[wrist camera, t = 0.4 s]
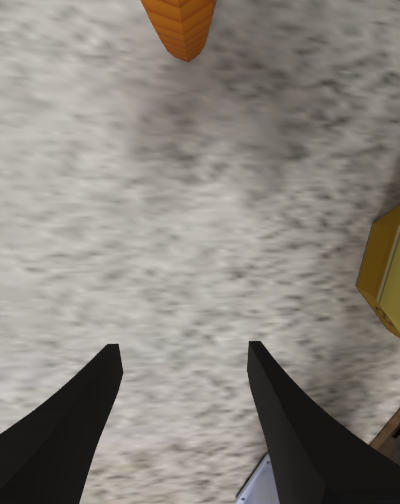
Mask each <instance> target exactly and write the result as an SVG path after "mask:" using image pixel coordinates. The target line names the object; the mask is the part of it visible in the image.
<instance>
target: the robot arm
mask: <svg viewBox="0 0 400 504" xmlns="http://www.w3.org/2000/svg"><path fill="white" fill-rule="evenodd" d="M247 372H248V378H249V383H250V388H251V392H252V396H253V399H254V402H255V406H256V409H257V412H258V416H259V419H260V422H261V426H262V429H263V432H264V436H265V439H266V443H267V447H268V451H269V453H268V454H267V455H266V456H265V458H264V459H263V460H262V462H261V463H260V465H259V466H258V468H257V469H256V471H255V472H254V474H253V475H252V476H251V478H250V479H249V481H248V482H247V484H246V485H245V487H244V488H243V490H242V491H241V492H240V494H239V495H238V497H237V498H236V500H235V502H236V504H400V465H398V464H397V463H395V462H394V461H392V460H391V459H389V458H388V457H386V456H384V455H383V454H381V453H380V452H378V451H377V450H375V449H374V448H372V447H371V446H369V445H368V444H367V443H365V442H364V441H362V440H361V439H360V438H358V437H357V436H356V435H354V434H353V433H351V432H350V431H349V430H348V429H346V428H345V427H344V426H342V425H341V424H340V423H339V422H338V421H336V420H335V419H334V418H333V417H331V416H330V415H329V414H328V413H326V412H325V411H324V410H323V409H322V408H321V407H320V406H318V405H317V404H316V403H315V402H314V401H313V400H312V399H311V398H310V397H309V396H308V395H307V394H306V393H305V392H304V391H303V390H302V389H301V388H300V387H299V386H298V385H297V384H296V383H295V382H294V381H293V380H292V379H291V378H290V377H289V376H288V374H287V373H286V372H285V371H284V370H283V369H282V368H281V366H280V365H279V364H278V363H277V362H276V360H275V359H274V358H273V357H272V355H271V354H270V353H269V352H268V350H267V349H266V348H265V346H264V345H263V344H262V342H261V341H249V348H248V363H247ZM122 376H123V368H122V362H121V356H120V350H119V344H107V345H106V346H105V347H104V348H103V349H102V350H101V351H100V352H99V353H98V354H97V355H96V356H95V357H94V358H93V359H92V360H91V361H90V362H89V363H88V364H87V365H86V366H85V367H84V368H83V369H81V370H80V371H79V372H78V373H77V374H76V375H75V376H74V377H73V378H72V379H71V380H70V381H69V382H67V383H66V384H65V385H64V386H63V387H62V388H61V389H60V390H58V391H57V392H56V393H55V394H54V395H53V396H51V397H50V398H49V399H48V400H46V401H45V402H44V403H43V404H41V405H40V406H39V407H37V408H36V409H35V410H34V411H32V412H31V413H30V414H28V415H27V416H25V417H24V418H23V419H21V420H20V421H18V422H17V423H15V424H14V425H13V426H11V427H10V428H8V429H7V430H6V431H4V432H3V433H1V434H0V504H79V502H80V499H81V495H82V492H83V489H84V485H85V482H86V478H87V475H88V472H89V469H90V465H91V462H92V459H93V456H94V453H95V450H96V447H97V444H98V441H99V439H100V436H101V434H102V431H103V429H104V426H105V424H106V421H107V419H108V416H109V414H110V411H111V409H112V406H113V404H114V401H115V399H116V396H117V394H118V390H119V387H120V383H121V380H122Z"/></svg>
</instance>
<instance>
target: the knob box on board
mask: <svg viewBox="0 0 400 504" xmlns="http://www.w3.org/2000/svg"><path fill="white" fill-rule="evenodd" d="M369 446H371V447H372V448H374V449H375V450H377V451H378V452H380V453H381V454H383V455H384V456H386V457H388V458H389V459H391V460H392V461H394V462H395V463H397V464H398V465H400V409H399V410H398V412H397V413H396V414H395V415H394V416H393V418H392V419H391V420H390V421H389V422H388V424H387V425H386V426H385V427H384V429H383V430H382V431H381V432H380V433H379V435H378V436H377V437H376V438H375V439H374V441H373V442H372V443H371V444H370V445H369Z"/></svg>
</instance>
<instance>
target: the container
mask: <svg viewBox="0 0 400 504" xmlns="http://www.w3.org/2000/svg"><path fill="white" fill-rule="evenodd" d="M356 287H357V289H358V290H359V291H360V293H361V294H362V296H363V297H364V298H365V300H366V301H367V302H368V304H369V305H370V306H371V308H372V309H373V311H374V312H375V313H376V315H377V316H378V317H379V319H380V320H381V322H382V323H383V324H384V326H385V327H386V328H387V330H389V331H390V332H392V333H393V334H394V335H396V336H397V337H399V338H400V204H399V205H398V206H396V207H395V208H393V209H392V210H391V211H389V212H388V213H386V214H385V215H384V216H382V217H381V218H379V219H378V220H376V221H375V222H374V223H372V227H371V230H370V234H369V238H368V241H367V245H366V249H365V253H364V256H363V260H362V264H361V267H360V271H359V275H358V278H357V282H356Z"/></svg>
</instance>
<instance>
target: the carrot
mask: <svg viewBox="0 0 400 504" xmlns="http://www.w3.org/2000/svg"><path fill="white" fill-rule="evenodd" d="M141 2H142V4H143V6H144V8H145V10H146V12H147V14H148V17H149V19H150V21H151V23H152V25H153V27H154V29H155V30H156V32H157V34H158V36H159V38H160V40H161V41H162V43H163V44H164V46H165V47H166V49H167V51H168V52H170V53H171V54H172V55H173V56H174V57H176V58H179V59H181V60H184V61H187V62H189V61H190V60H192V59H194V58H195V57H196V56H197V55H199V54H200V52H201V51H202V49H203V48H204V46H205V42H206V39H207V35H208V31H209V27H210V24H211V20H212V16H213V12H214V8H215V5H216V0H141Z"/></svg>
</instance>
